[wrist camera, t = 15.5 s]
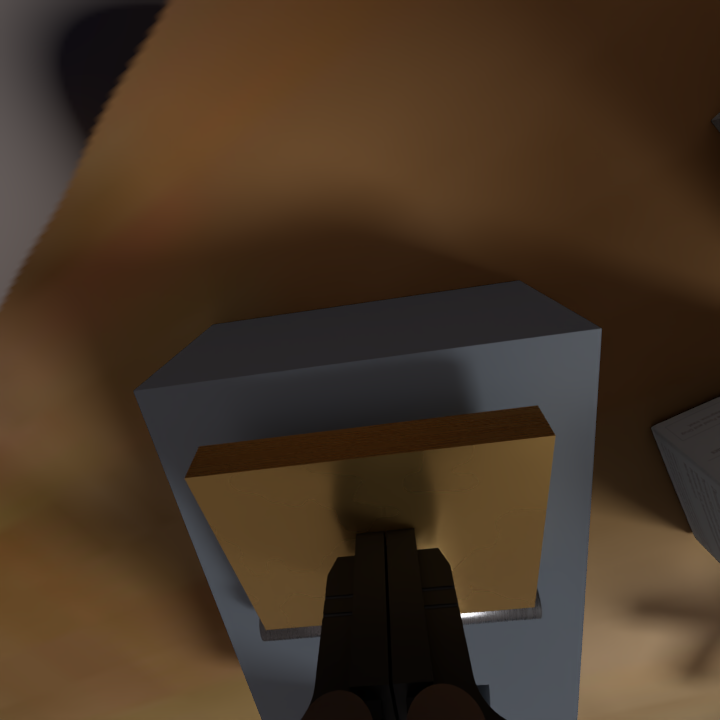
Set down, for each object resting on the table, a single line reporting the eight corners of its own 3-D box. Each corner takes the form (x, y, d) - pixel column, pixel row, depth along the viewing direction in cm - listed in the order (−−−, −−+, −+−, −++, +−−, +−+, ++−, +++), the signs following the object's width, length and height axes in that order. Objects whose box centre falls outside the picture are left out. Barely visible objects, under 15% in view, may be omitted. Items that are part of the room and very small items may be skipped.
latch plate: (526, 587, 13) (540, 626, 12) (273, 609, 14) (267, 648, 13) (545, 401, 10) (567, 437, 8) (192, 444, 10) (174, 482, 9)
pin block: (524, 663, 24) (571, 808, 18) (316, 678, 25) (301, 820, 19) (519, 280, 16) (601, 328, 10) (212, 324, 17) (133, 391, 11)
